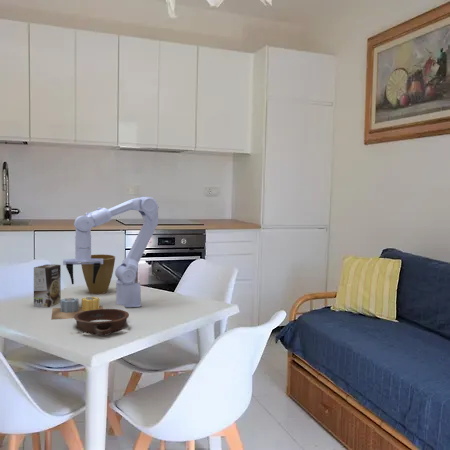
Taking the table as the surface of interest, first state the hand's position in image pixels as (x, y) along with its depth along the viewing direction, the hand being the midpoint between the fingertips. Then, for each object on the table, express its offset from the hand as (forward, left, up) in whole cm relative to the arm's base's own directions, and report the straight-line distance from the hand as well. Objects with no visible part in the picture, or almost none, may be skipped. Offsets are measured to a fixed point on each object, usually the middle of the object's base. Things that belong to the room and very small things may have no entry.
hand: (83, 283), depth 183 cm
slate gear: (+5, +6, -9) cm, 12 cm away
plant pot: (-7, -29, -10) cm, 31 cm away
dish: (-5, +28, -10) cm, 30 cm away
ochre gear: (-2, +6, -9) cm, 11 cm away
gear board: (+2, +9, -10) cm, 14 cm away
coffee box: (+13, -6, -10) cm, 18 cm away
